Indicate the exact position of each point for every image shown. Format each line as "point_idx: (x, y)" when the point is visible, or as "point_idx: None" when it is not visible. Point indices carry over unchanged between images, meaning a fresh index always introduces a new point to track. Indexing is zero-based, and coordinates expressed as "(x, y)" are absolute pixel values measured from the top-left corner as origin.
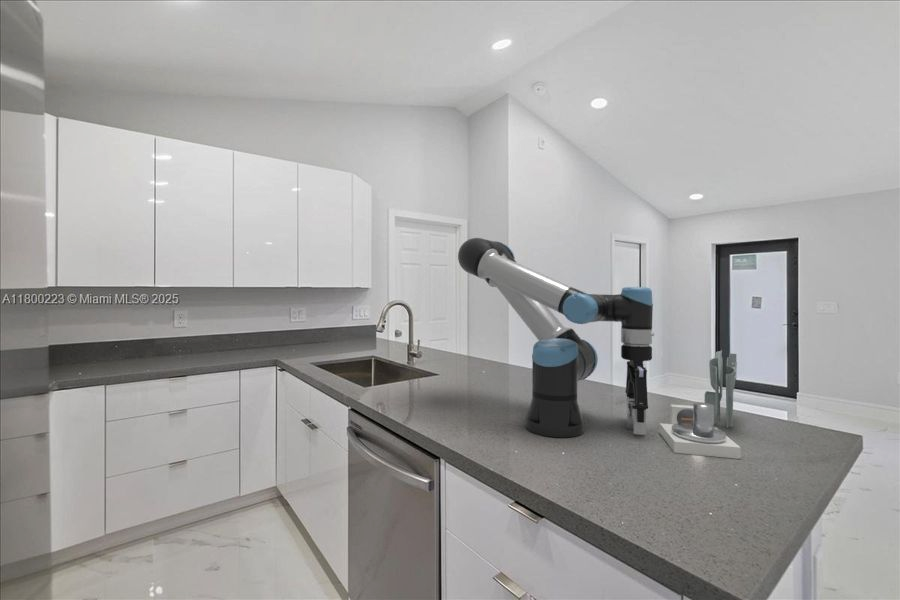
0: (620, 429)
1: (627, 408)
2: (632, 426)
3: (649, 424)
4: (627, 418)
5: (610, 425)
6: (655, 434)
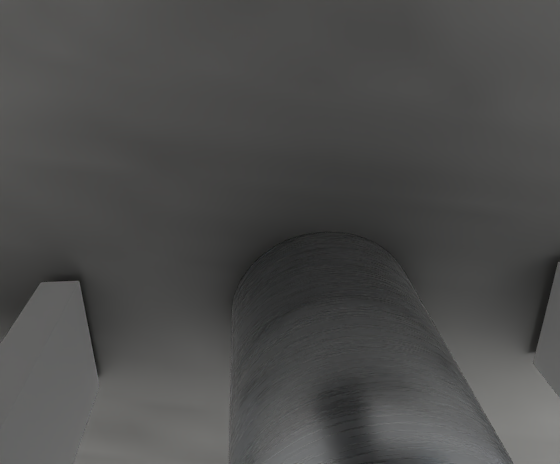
0: (231, 141)
1: (384, 430)
2: (243, 305)
3: (509, 448)
4: (336, 303)
5: (392, 16)
6: (177, 459)
